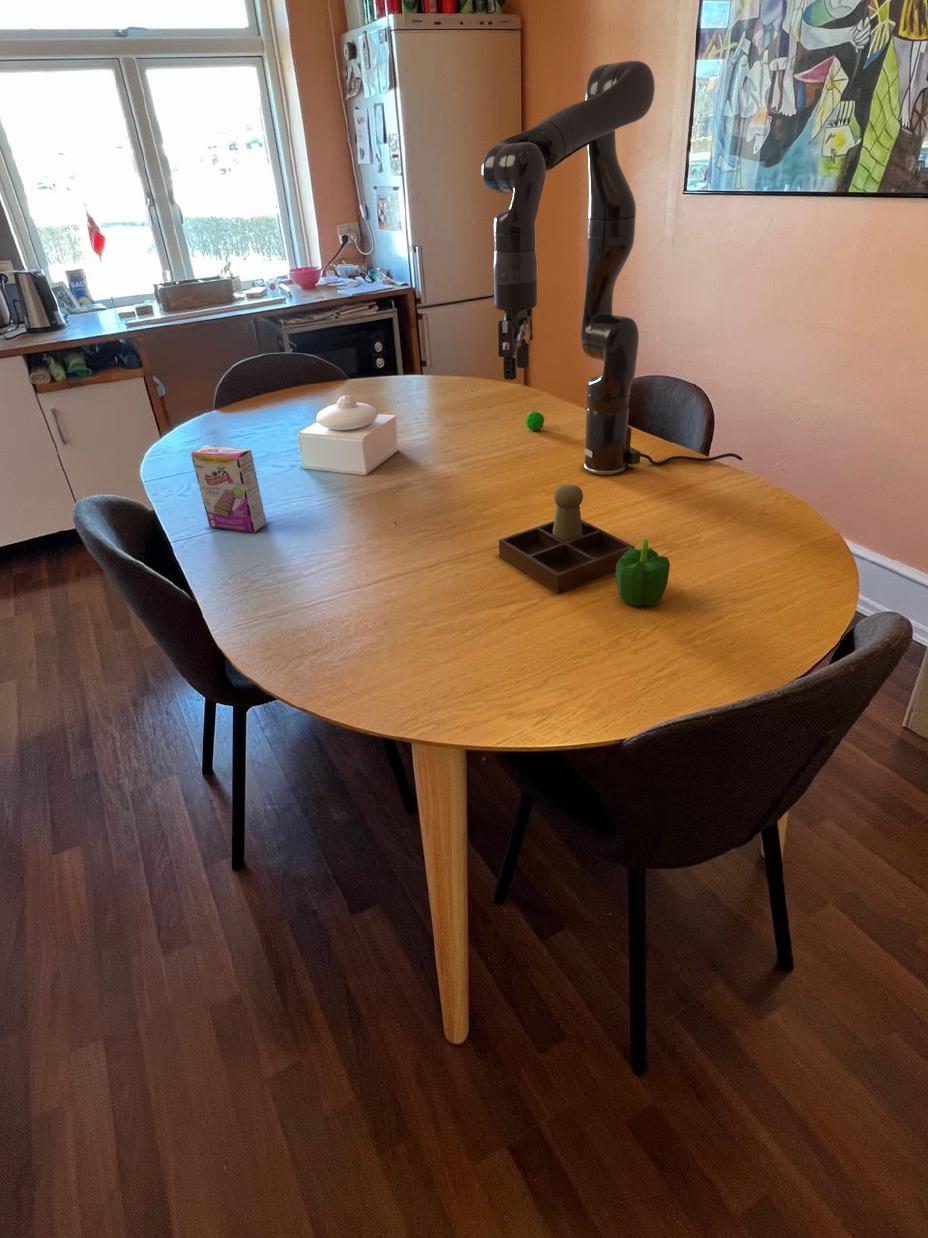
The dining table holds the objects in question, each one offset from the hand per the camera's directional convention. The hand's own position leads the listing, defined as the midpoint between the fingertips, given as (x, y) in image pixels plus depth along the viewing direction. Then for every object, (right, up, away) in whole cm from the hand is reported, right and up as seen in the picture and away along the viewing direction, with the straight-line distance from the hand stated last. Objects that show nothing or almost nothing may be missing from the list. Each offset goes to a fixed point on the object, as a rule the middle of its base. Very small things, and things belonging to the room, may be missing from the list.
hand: (516, 373), depth 138 cm
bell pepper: (+19, -43, -17) cm, 50 cm away
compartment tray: (+9, -35, -4) cm, 36 cm away
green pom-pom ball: (+9, +4, +59) cm, 60 cm away
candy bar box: (-57, -27, +16) cm, 65 cm away
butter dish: (-38, -6, +47) cm, 61 cm away
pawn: (+10, -32, +1) cm, 33 cm away
